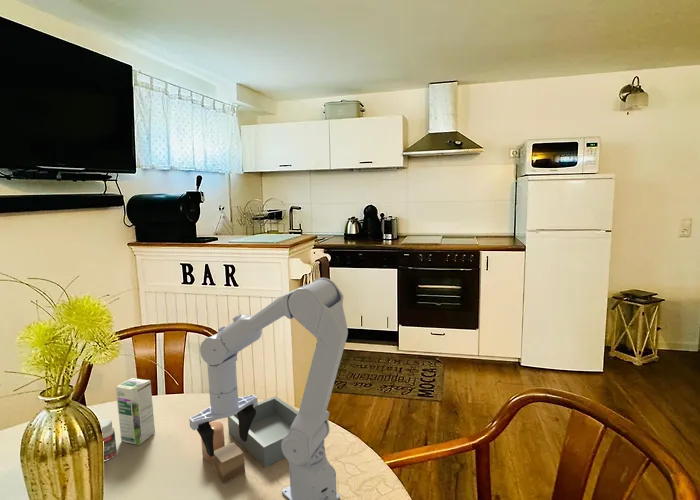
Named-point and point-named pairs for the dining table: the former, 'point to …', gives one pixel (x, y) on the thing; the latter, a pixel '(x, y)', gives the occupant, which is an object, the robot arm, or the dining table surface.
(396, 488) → the dining table surface
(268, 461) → the box
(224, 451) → the walnut cube
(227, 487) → the dining table surface
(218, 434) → the terracotta cylinder
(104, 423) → the pill bottle
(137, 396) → the syrup box
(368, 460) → the dining table surface
